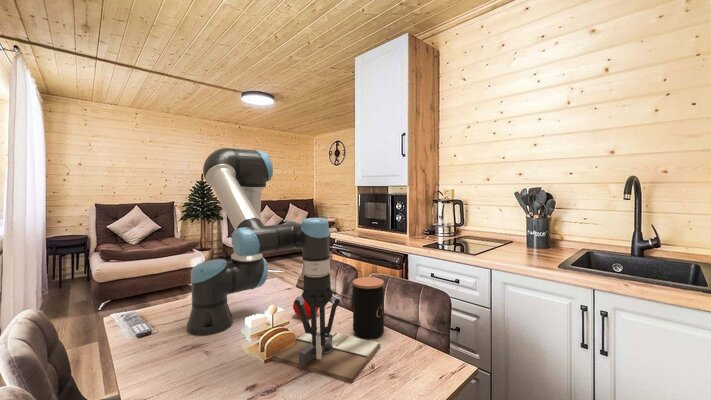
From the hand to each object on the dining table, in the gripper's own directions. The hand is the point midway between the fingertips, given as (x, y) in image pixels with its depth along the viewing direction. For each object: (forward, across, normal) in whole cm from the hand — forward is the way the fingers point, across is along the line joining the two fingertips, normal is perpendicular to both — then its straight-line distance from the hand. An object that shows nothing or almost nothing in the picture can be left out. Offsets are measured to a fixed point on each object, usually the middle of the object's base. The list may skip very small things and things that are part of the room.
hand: (319, 356), depth 90 cm
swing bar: (+1, -1, +3) cm, 3 cm away
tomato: (+3, -9, +35) cm, 37 cm away
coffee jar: (+3, +15, +20) cm, 25 cm away
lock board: (+3, +1, +6) cm, 7 cm away
